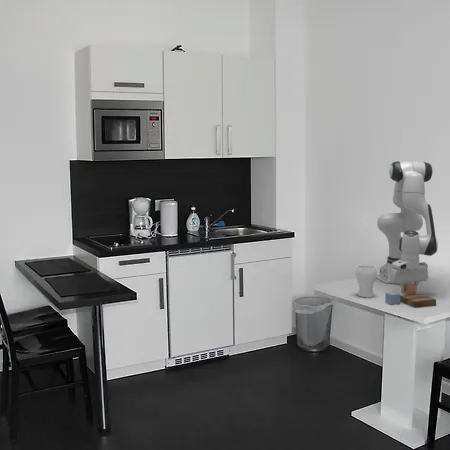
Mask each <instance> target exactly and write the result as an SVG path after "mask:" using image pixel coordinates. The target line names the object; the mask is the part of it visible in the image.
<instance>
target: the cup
mask: <svg viewBox="0 0 450 450" xmlns="http://www.w3.org/2000/svg"><path fill="white" fill-rule="evenodd" d="M377 275H378V271H377V266H375V265H370V264H361V265H357V266H356V269H355V278H356V280H357V283H358V296H359V297H360V298H361V297H362V298H373V297H374V289H373V288H374V284H375V282H376V279H377V278H376V277H377Z"/></svg>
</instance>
